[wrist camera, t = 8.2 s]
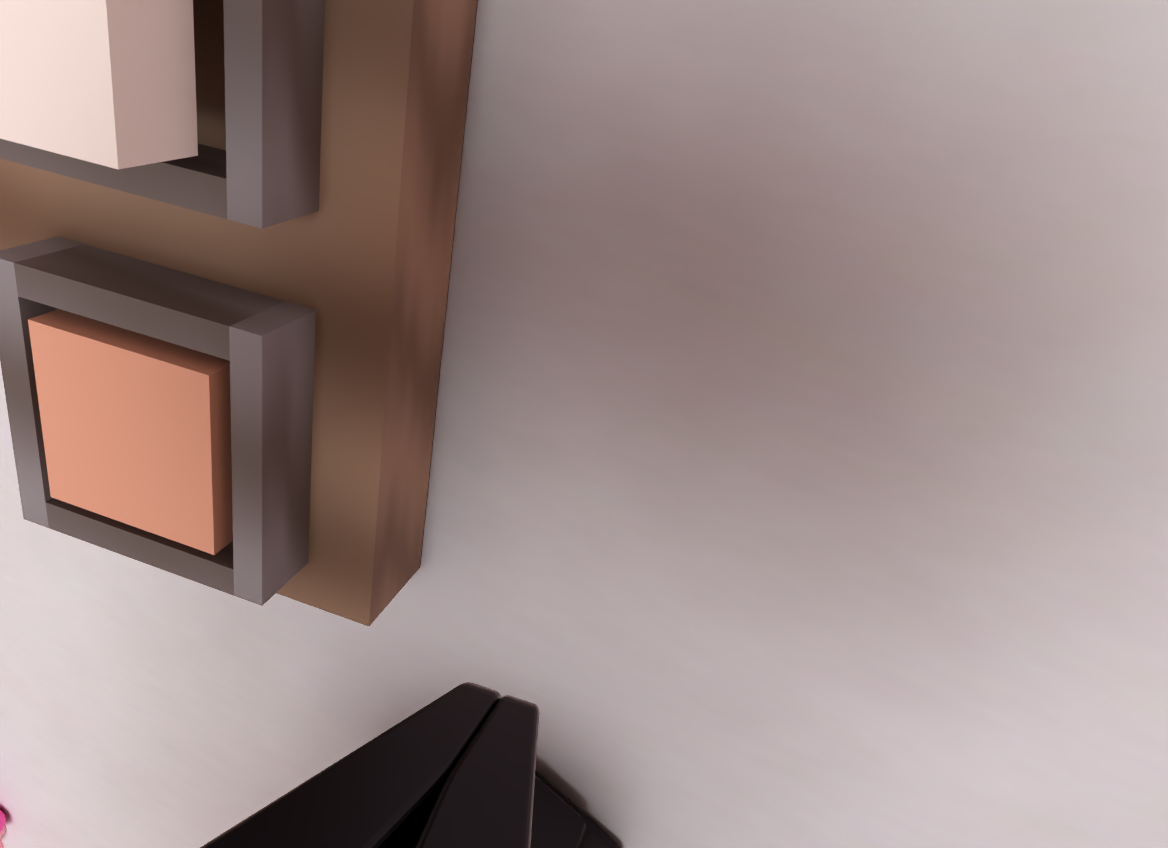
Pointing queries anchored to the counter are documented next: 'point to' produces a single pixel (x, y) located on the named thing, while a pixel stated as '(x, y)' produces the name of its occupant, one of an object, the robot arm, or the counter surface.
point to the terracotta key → (135, 428)
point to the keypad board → (272, 284)
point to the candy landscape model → (2, 826)
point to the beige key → (99, 79)
